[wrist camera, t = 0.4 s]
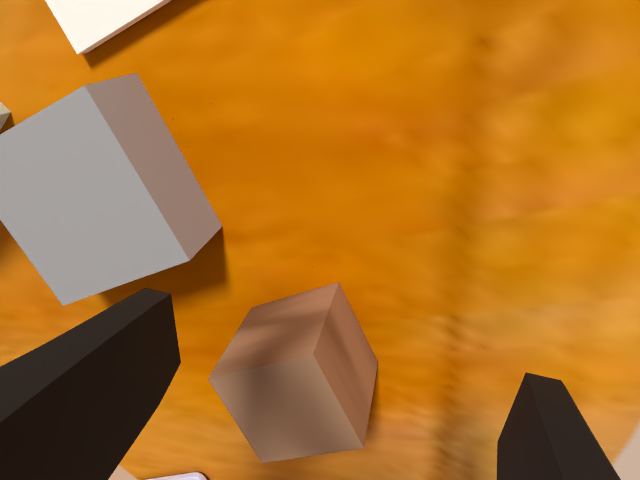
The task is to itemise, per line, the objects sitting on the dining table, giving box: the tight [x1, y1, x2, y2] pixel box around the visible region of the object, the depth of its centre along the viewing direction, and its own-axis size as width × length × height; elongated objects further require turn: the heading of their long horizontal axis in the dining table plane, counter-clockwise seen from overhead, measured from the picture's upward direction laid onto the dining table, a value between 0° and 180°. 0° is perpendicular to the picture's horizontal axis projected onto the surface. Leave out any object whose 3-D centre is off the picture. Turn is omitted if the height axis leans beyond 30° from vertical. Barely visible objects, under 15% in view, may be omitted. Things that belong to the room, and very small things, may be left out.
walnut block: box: [208, 282, 378, 463], centre depth 20 cm, size 5×5×5 cm
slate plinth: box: [0, 73, 222, 306], centre depth 20 cm, size 7×7×4 cm
